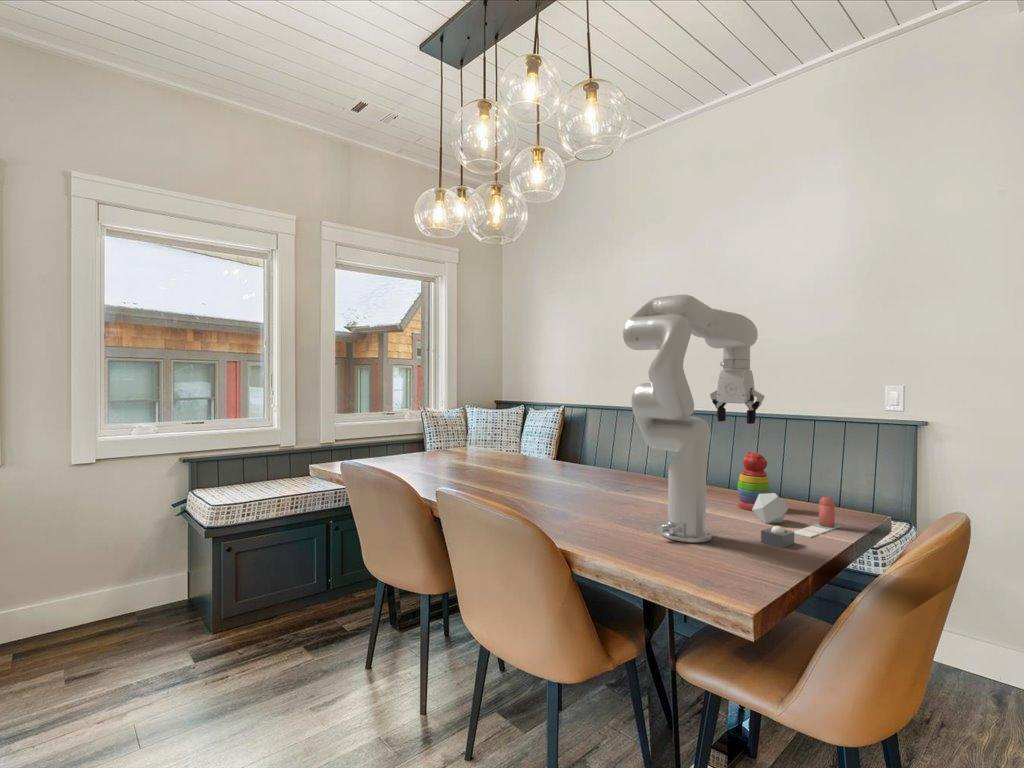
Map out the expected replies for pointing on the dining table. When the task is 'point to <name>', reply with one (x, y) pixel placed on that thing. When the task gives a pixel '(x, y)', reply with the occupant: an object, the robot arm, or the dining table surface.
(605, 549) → the dining table surface
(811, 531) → the track
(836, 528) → the tile
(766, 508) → the die
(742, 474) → the stacking bear
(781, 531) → the dome
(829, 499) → the pawn
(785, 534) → the grey square tray
